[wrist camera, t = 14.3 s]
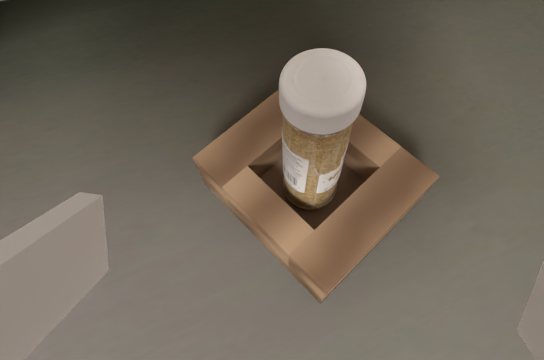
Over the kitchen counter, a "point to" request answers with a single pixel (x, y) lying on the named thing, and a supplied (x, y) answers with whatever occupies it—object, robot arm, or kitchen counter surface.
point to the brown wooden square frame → (321, 222)
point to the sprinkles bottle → (317, 122)
